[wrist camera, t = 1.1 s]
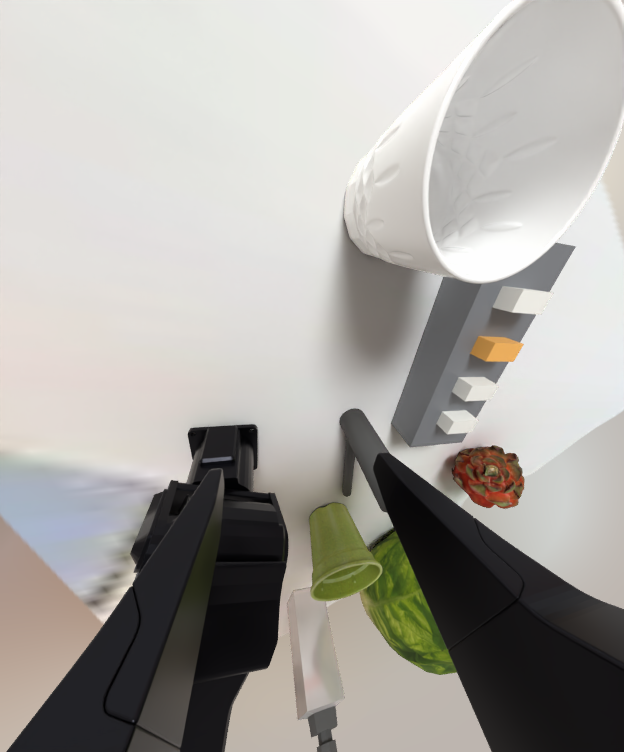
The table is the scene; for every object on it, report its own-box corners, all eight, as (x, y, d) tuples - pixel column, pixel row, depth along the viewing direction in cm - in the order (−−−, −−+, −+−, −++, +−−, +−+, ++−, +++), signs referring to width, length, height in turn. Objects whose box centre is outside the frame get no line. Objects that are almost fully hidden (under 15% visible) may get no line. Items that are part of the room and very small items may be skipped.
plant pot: (316, 491, 32) (335, 565, 25) (367, 498, 36) (396, 563, 28) (288, 529, 35) (297, 604, 28) (337, 531, 39) (357, 598, 32)
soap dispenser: (282, 592, 46) (301, 824, 28) (322, 585, 49) (363, 792, 31) (276, 605, 49) (290, 824, 31) (314, 598, 52) (348, 795, 33)
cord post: (360, 427, 27) (408, 509, 19) (337, 429, 27) (376, 515, 18) (366, 408, 26) (420, 486, 18) (342, 409, 25) (386, 491, 17)
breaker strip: (438, 419, 30) (473, 452, 25) (391, 423, 28) (419, 458, 23) (522, 246, 20) (603, 246, 16) (458, 235, 19) (528, 231, 14)
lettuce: (323, 626, 36) (411, 719, 35) (448, 591, 26) (582, 723, 24) (348, 527, 53) (409, 588, 51) (431, 481, 42) (511, 556, 40)
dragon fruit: (441, 433, 34) (471, 445, 41) (433, 492, 32) (465, 495, 39) (515, 446, 27) (536, 458, 34) (510, 522, 25) (534, 519, 32)
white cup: (455, 159, 16) (678, 64, 8) (406, 277, 19) (523, 301, 11) (357, 105, 14) (525, -124, 5) (321, 250, 17) (387, 255, 9)
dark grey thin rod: (349, 489, 33) (352, 497, 32) (341, 491, 33) (344, 499, 32) (354, 433, 28) (358, 441, 27) (345, 435, 27) (348, 442, 26)
